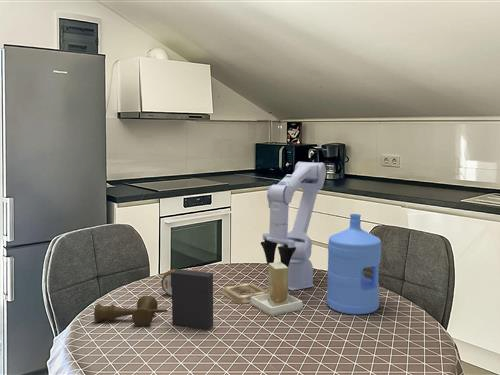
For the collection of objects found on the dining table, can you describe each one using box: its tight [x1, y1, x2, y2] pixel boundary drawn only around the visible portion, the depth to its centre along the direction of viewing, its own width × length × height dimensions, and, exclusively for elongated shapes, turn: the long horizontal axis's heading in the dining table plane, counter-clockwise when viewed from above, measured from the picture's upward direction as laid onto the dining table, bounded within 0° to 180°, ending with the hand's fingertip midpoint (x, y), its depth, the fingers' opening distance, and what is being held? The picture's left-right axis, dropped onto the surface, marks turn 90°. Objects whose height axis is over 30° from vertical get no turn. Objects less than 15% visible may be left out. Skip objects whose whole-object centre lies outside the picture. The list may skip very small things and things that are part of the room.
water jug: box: [326, 213, 382, 315], centre depth 150 cm, size 16×16×28 cm
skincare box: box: [267, 261, 289, 307], centre depth 149 cm, size 6×4×12 cm
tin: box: [160, 268, 202, 297], centre depth 159 cm, size 15×3×8 cm, turn 84°
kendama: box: [93, 295, 168, 328], centre depth 139 cm, size 6×10×20 cm
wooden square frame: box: [221, 282, 268, 305], centre depth 160 cm, size 11×11×2 cm
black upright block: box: [171, 268, 214, 331], centre depth 135 cm, size 11×4×15 cm, turn 71°
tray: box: [250, 293, 304, 318], centre depth 150 cm, size 11×11×2 cm
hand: (277, 266), depth 157 cm, fingers open, 7 cm apart
